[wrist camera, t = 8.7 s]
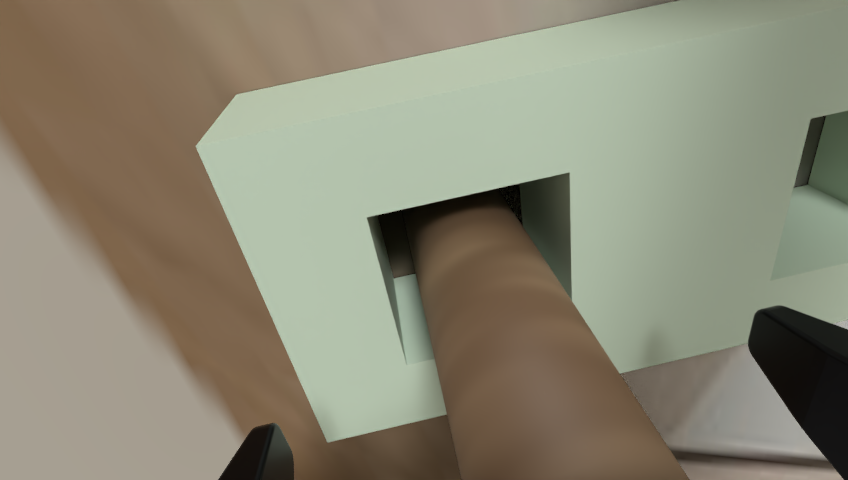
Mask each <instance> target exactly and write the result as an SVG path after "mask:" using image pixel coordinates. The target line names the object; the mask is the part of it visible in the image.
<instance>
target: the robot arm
mask: <svg viewBox="0 0 848 480" xmlns="http://www.w3.org/2000/svg"><path fill="white" fill-rule="evenodd" d="M748 347H749V350H750V353H751V354H752V356H753V358H754V359H755V361H756V362H757V364H758V365H759V367H760V368H761V369H762V371H763V372H764V374H765V375H766V377H767V378H768V380H769V381H770V383H771V384H772V386H773V387H774V389H775V390H776V392H777V393H778V395H779V396H780V397H781V399H782V400H783V402H784V403H785V405H786V406H787V408H788V409H789V411H790V412H791V414H792V415H793V417H794V418H795V419H796V421H797V422H798V423H799V425H800V426H801V428H802V429H803V430H804V431H805V433H806V434H807V435H808V436H809V438H810V439H811V440H812V441H813V443H814V444H815V445H816V446H817V448H818V449H819V450H820V451H821V452H822V454H823V455H824V456H825V457H826V458H827V460H828V461H829V462H830V463H831V464H832V466H833V467H834V468H835V469H836V471H837V472H838V473H839V474H840V475H841V477H842V478H843V479H844V480H848V330H847V329H845V328H842V327H839V326H837V325H834V324H831V323H828V322H826V321H823V320H820V319H818V318H815V317H812V316H810V315H807V314H804V313H802V312H799V311H796V310H794V309H791V308H788V307H785V306H781V305H776V306H771V307H767V308H763V309H760V310H758V311H757V312H756V313H755V314H754V317H753V322H752V326H751V330H750V334H749V338H748ZM218 480H294V461H293V454H292V451H291V448H290V446H289V444H288V443H287V441H286V439H285V437H284V435H283V433H282V431H281V429H280V427H279V426H278V425H277V424H276V423H270V424H266V425H262V426H258V427H255V428H253V429H252V430H251V431H250V433H249V434H248V436H247V437H246V439H245V440H244V442H243V443H242V445H241V446H240V448H239V449H238V451H237V452H236V454H235V455H234V457H233V458H232V460H231V461H230V463H229V464H228V466H227V467H226V469H225V470H224V472H223V473H222V475H221V476H220V478H219V479H218Z"/></svg>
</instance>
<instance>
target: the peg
mask: <svg viewBox="0 0 848 480" xmlns="http://www.w3.org/2000/svg"><path fill="white" fill-rule="evenodd" d="M402 214H403V219H404V223H405V228H406V232H407V237H408V241H409V246H410V250H411V255H412V259H413V264H414V268H415V273H416V277H417V282H418V286H419V291H420V295H421V300H422V304H423V309H424V313H425V318H426V322H427V327H428V331H429V336H430V340H431V345H432V349H433V354H434V358H435V363H436V367H437V372H438V376H439V381H440V385H441V390H442V394H443V399H444V403H445V408H446V412H447V417H448V421H449V426H450V430H451V435H452V439H453V444H454V448H455V453H456V457H457V462H458V466H459V471H460V475H461V480H689V478H688V477H687V475H686V474H685V472H684V471H683V469H682V468H681V466H680V465H679V463H678V461H677V460H676V458H675V457H674V455H673V454H672V452H671V451H670V449H669V448H668V446H667V445H666V443H665V442H664V440H663V439H662V437H661V436H660V434H659V433H658V431H657V430H656V428H655V427H654V425H653V423H652V422H651V420H650V419H649V417H648V416H647V414H646V413H645V411H644V410H643V408H642V407H641V405H640V404H639V402H638V401H637V399H636V398H635V396H634V395H633V393H632V392H631V390H630V389H629V387H628V385H627V384H626V382H625V381H624V379H623V378H622V376H621V375H620V373H619V372H618V370H617V369H616V367H615V366H614V364H613V363H612V361H611V360H610V358H609V357H608V355H607V354H606V352H605V351H604V349H603V347H602V346H601V344H600V343H599V341H598V340H597V338H596V337H595V335H594V334H593V332H592V331H591V329H590V328H589V326H588V325H587V323H586V322H585V320H584V319H583V317H582V316H581V314H580V313H579V311H578V309H577V308H576V306H575V305H574V303H573V302H572V300H571V299H570V297H569V296H568V294H567V293H566V291H565V290H564V288H563V287H562V285H561V284H560V282H559V281H558V279H557V278H556V276H555V275H554V273H553V271H552V270H551V268H550V267H549V265H548V264H547V262H546V261H545V259H544V258H543V256H542V255H541V253H540V252H539V250H538V249H537V247H536V246H535V244H534V243H533V241H532V240H531V238H530V236H529V235H528V233H527V232H526V230H525V229H524V227H523V226H522V224H521V223H520V221H519V220H518V218H517V217H516V215H515V214H514V212H513V211H512V209H511V208H510V206H509V205H508V203H507V202H506V200H505V198H504V197H503V195H502V194H501V192H500V191H499V189H498V188H497V189H492V190H488V191H483V192H479V193H474V194H470V195H465V196H461V197H456V198H452V199H447V200H443V201H438V202H434V203H429V204H425V205H420V206H416V207H411V208H407V209H402Z"/></svg>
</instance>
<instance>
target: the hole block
mask: <svg viewBox="0 0 848 480" xmlns="http://www.w3.org/2000/svg"><path fill="white" fill-rule="evenodd" d="M821 116H826V118H825V122H824V126H823V130H822V133H821V137H820V141H819V145H818V148H817V152H816V156H815V160H814V163H813V167H812V171H811V174H810V178H809V182H808V185H804V186H800V187H796V188H794V184H795V180H796V176H797V172H798V168H799V164H800V160H801V156H802V152H803V148H804V144H805V140H806V136H807V132H808V128H809V124H810V120H811V119H812V118H817V117H821ZM196 148H197V150H198V153H199V155H200V157H201V159H202V162H203V164H204V166H205V168H206V171H207V173H208V175H209V177H210V180H211V182H212V184H213V186H214V189H215V191H216V193H217V195H218V198H219V200H220V202H221V204H222V207H223V209H224V211H225V213H226V216H227V218H228V220H229V222H230V225H231V227H232V229H233V231H234V234H235V236H236V238H237V240H238V243H239V245H240V247H241V249H242V252H243V254H244V256H245V258H246V261H247V263H248V265H249V267H250V270H251V272H252V274H253V276H254V279H255V281H256V283H257V285H258V288H259V290H260V292H261V294H262V297H263V299H264V301H265V303H266V306H267V308H268V310H269V312H270V315H271V317H272V319H273V321H274V324H275V326H276V328H277V330H278V333H279V335H280V337H281V339H282V342H283V344H284V346H285V348H286V351H287V353H288V355H289V357H290V360H291V362H292V364H293V366H294V369H295V371H296V373H297V375H298V378H299V380H300V382H301V384H302V387H303V389H304V391H305V393H306V396H307V398H308V400H309V402H310V405H311V407H312V409H313V411H314V414H315V416H316V418H317V420H318V423H319V425H320V427H321V429H322V431H323V434H324V436H325V438H326V440H327V443H328V442H332V441H336V440H340V439H345V438H349V437H353V436H357V435H362V434H366V433H370V432H374V431H379V430H383V429H387V428H391V427H396V426H400V425H404V424H408V423H413V422H417V421H421V420H425V419H430V418H434V417H438V416H442V415H446V414H447V412H446V408H445V403H444V399H443V394H442V390H441V385H440V381H439V376H438V372H437V367H436V363H435V358H434V354H433V349H432V345H431V340H430V336H429V331H428V327H427V322H426V318H425V313H424V309H423V304H422V300H421V295H420V291H419V286H418V282H417V277H416V274H411V275H407V276H402V277H398V278H393V274H392V270H391V266H390V262H389V258H388V254H387V251H386V247H385V243H384V239H383V235H382V231H381V227H380V223H379V219H378V216H377V215H380V214H384V213H389V212H393V211H398V210H402V209H407V208H411V207H416V206H420V205H425V204H429V203H434V202H438V201H443V200H447V199H452V198H456V197H461V196H465V195H470V194H474V193H479V192H483V191H488V190H492V189H497V188H501V187H506V186H510V185H515V184H519V183H520V196H521V209H522V222H523V227H524V229H525V230H526V232H527V233H528V235H529V236H530V238H531V240H532V241H533V243H534V244H535V246H536V247H537V249H538V250H539V252H540V253H541V255H542V256H543V258H544V259H545V261H546V262H547V264H548V265H549V267H550V268H551V270H552V271H553V273H554V275H555V276H556V278H557V279H558V281H559V282H560V284H561V285H562V287H563V288H564V290H565V291H566V293H567V294H568V296H569V297H570V299H571V300H572V302H573V303H574V305H575V306H576V308H577V309H578V311H579V313H580V314H581V316H582V317H583V319H584V320H585V322H586V323H587V325H588V326H589V328H590V329H591V331H592V332H593V334H594V335H595V337H596V338H597V340H598V341H599V343H600V344H601V346H602V347H603V349H604V351H605V352H606V354H607V355H608V357H609V358H610V360H611V361H612V363H613V364H614V366H615V367H616V369H617V370H618V372H619V373H625V372H629V371H633V370H637V369H642V368H646V367H650V366H654V365H659V364H663V363H667V362H671V361H675V360H680V359H684V358H688V357H692V356H697V355H701V354H705V353H709V352H714V351H718V350H722V349H726V348H731V347H735V346H739V345H743V344H748V338H749V334H750V330H751V326H752V322H753V317H754V314H755V313H756V312H757V311H758V310H760V309H763V308H767V307H771V306H776V305H781V306H785V307H788V308H791V309H794V310H796V311H799V312H802V313H804V314H807V315H810V316H812V317H815V318H818V319H820V320H823V321H826V322H828V323H831V324H832V323H837V322H841V321H845V320H848V0H679V1H674V2H669V3H665V4H660V5H655V6H650V7H646V8H641V9H636V10H632V11H627V12H622V13H617V14H613V15H608V16H603V17H599V18H594V19H589V20H585V21H580V22H575V23H570V24H566V25H561V26H556V27H552V28H547V29H542V30H537V31H533V32H528V33H523V34H519V35H514V36H509V37H505V38H500V39H495V40H490V41H486V42H481V43H476V44H472V45H467V46H462V47H458V48H453V49H448V50H443V51H439V52H434V53H429V54H425V55H420V56H415V57H410V58H406V59H401V60H396V61H392V62H387V63H382V64H378V65H373V66H368V67H363V68H359V69H354V70H349V71H345V72H340V73H335V74H330V75H326V76H321V77H316V78H312V79H307V80H302V81H298V82H293V83H288V84H283V85H279V86H274V87H269V88H265V89H260V90H255V91H250V92H246V93H241V94H237V95H236V96H235V97H234V98H233V100H232V101H231V102H230V103H229V105H228V106H227V107H226V108H225V110H224V111H223V112H222V114H221V115H220V116H219V117H218V119H217V120H216V121H215V122H214V124H213V125H212V126H211V127H210V129H209V130H208V131H207V132H206V134H205V135H204V136H203V138H202V139H201V140H200V141H199V143H198V144H197V145H196Z"/></svg>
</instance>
